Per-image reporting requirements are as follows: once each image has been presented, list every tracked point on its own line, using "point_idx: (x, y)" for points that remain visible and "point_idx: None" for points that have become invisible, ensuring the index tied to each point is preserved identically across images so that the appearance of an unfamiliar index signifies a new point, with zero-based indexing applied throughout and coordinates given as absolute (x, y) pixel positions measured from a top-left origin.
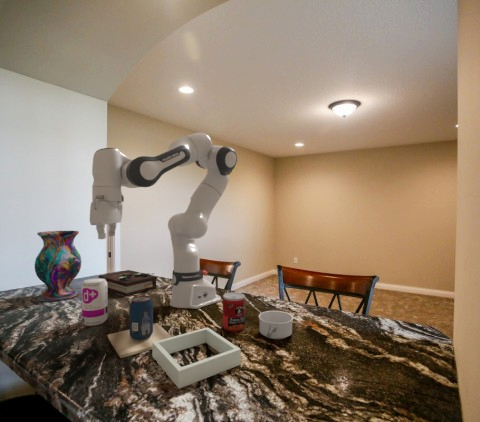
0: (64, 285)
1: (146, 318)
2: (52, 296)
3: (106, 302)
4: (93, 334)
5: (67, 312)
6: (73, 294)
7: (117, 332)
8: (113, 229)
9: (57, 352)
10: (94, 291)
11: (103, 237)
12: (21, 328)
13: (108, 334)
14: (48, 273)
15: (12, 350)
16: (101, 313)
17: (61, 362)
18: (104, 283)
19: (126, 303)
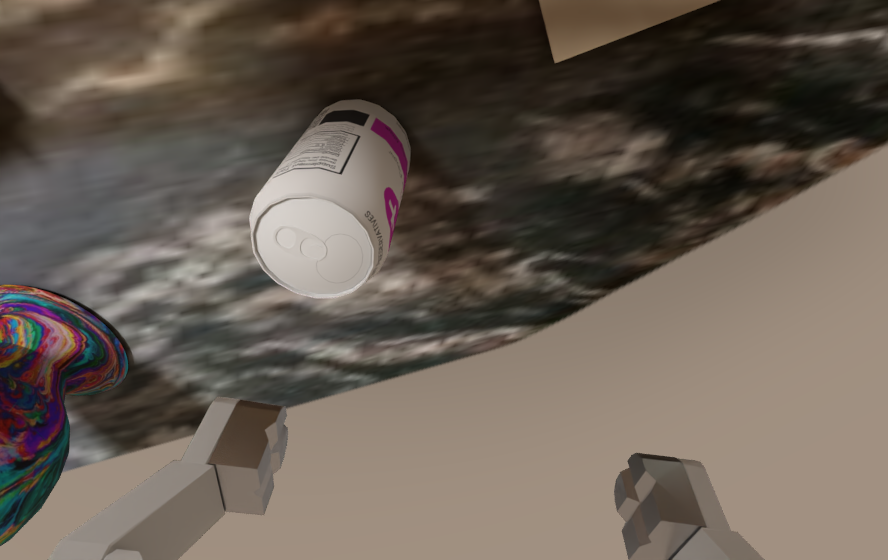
0: (30, 358)
1: None
2: (101, 358)
3: (347, 131)
4: (501, 126)
5: (240, 270)
6: (40, 301)
7: (545, 19)
8: (190, 502)
9: (617, 210)
10: (389, 215)
11: (703, 477)
12: (382, 349)
13: (554, 59)
14: (57, 449)
15: (545, 321)
16: (389, 132)
17: (702, 179)
18: (335, 188)
19: (89, 31)
